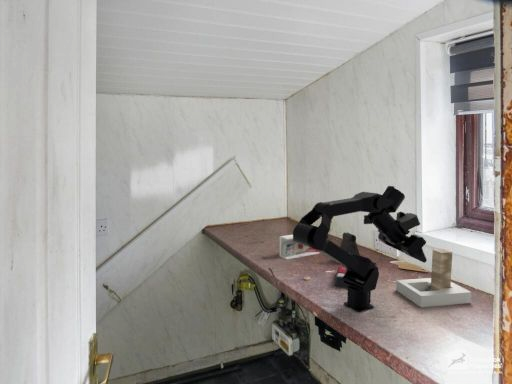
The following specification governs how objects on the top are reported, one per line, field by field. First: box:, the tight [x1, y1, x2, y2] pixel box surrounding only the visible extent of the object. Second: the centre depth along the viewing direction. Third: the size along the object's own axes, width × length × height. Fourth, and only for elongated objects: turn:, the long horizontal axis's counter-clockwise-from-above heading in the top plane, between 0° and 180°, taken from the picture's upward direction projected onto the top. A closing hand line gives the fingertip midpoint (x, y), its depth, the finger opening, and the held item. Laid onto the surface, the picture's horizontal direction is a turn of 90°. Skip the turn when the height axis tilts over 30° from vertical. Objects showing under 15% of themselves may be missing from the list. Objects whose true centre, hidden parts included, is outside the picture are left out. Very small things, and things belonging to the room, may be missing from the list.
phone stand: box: [339, 231, 361, 256], centre depth 152 cm, size 9×6×12 cm, turn 106°
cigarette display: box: [279, 233, 321, 260], centre depth 162 cm, size 20×6×9 cm, turn 119°
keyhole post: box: [426, 248, 453, 291], centre depth 114 cm, size 6×6×15 cm
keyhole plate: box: [395, 277, 472, 308], centre depth 115 cm, size 17×14×4 cm
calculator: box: [335, 264, 364, 289], centre depth 129 cm, size 11×4×15 cm
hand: (416, 257), depth 112 cm, fingers open, 9 cm apart
